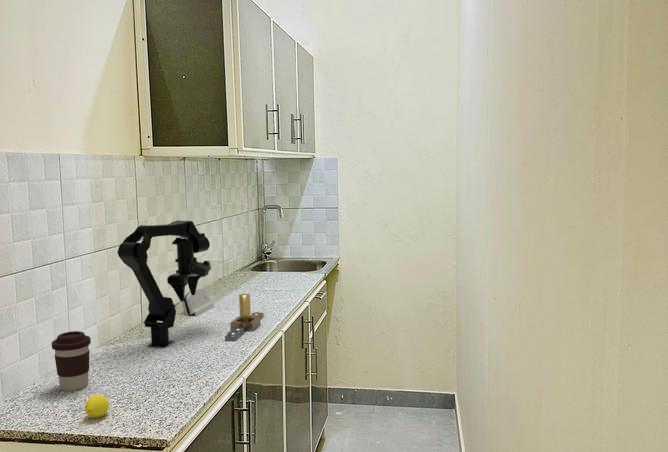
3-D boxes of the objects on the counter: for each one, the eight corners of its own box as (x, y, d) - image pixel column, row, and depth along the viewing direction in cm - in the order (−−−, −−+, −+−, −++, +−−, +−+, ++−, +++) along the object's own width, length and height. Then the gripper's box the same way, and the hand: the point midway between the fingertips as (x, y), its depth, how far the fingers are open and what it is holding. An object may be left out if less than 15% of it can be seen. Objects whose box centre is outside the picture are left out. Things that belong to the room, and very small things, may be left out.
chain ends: (241, 341, 206) (241, 332, 206) (218, 340, 208) (217, 331, 208) (269, 316, 238) (269, 309, 238) (249, 315, 240) (248, 308, 239)
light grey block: (196, 316, 241) (187, 293, 240) (186, 319, 242) (178, 296, 242) (215, 306, 257) (207, 284, 256) (205, 309, 258) (197, 287, 258)
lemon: (93, 412, 151) (94, 391, 151) (114, 413, 150) (114, 392, 150) (78, 421, 144) (78, 398, 144) (99, 422, 143) (100, 399, 143)
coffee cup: (49, 386, 168) (45, 334, 166) (85, 377, 174) (81, 327, 173) (63, 396, 161) (59, 342, 159) (99, 386, 167) (96, 334, 166)
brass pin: (246, 329, 220) (245, 296, 219) (238, 328, 222) (236, 295, 221) (253, 326, 224) (252, 294, 222) (244, 325, 226) (243, 293, 224)
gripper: (195, 260, 203) (198, 305, 205) (216, 251, 221) (218, 292, 223) (165, 260, 205) (167, 304, 207) (188, 251, 224) (191, 291, 225)
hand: (187, 298), depth 216 cm, fingers open, 9 cm apart
